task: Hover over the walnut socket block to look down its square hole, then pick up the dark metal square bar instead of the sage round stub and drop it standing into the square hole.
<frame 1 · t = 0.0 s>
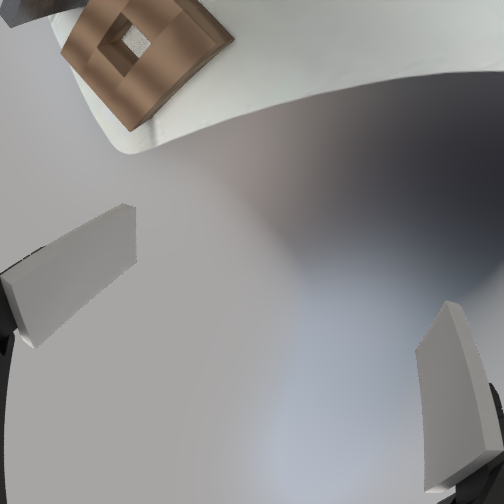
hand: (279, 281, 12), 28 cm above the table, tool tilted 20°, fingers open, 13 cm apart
socket block: (146, 37, 31), on the table
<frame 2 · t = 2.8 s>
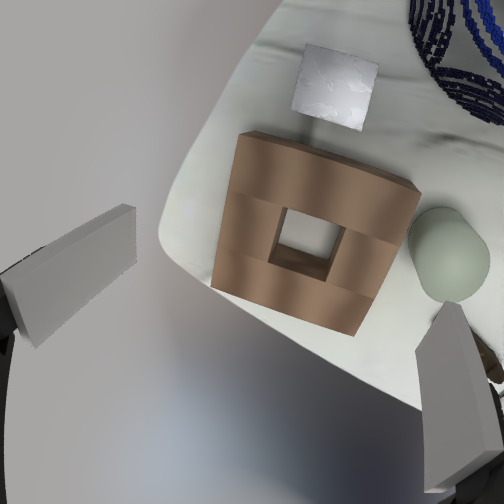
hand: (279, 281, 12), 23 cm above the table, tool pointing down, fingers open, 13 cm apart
round stub: (439, 240, 31), on the table
square bar: (339, 98, 28), on the table
hand tool: (476, 338, 34), on the table
socket block: (311, 228, 35), on the table
decorative bowl: (489, 41, 19), on the table
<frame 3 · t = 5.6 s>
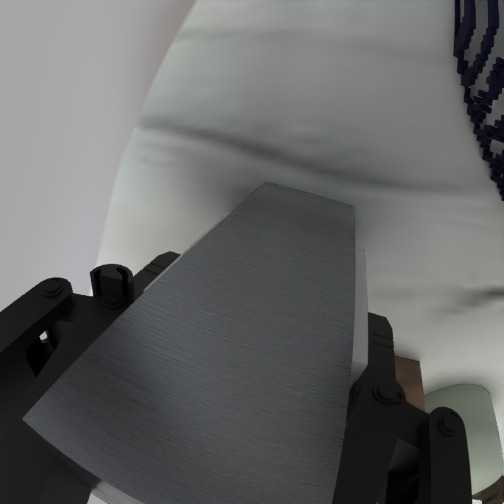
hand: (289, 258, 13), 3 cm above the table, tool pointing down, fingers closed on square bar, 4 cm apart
round stub: (446, 415, 18), on the table
square bar: (299, 234, 16), on the table, touching gripper
hand tool: (478, 470, 21), on the table
socket block: (262, 404, 23), on the table
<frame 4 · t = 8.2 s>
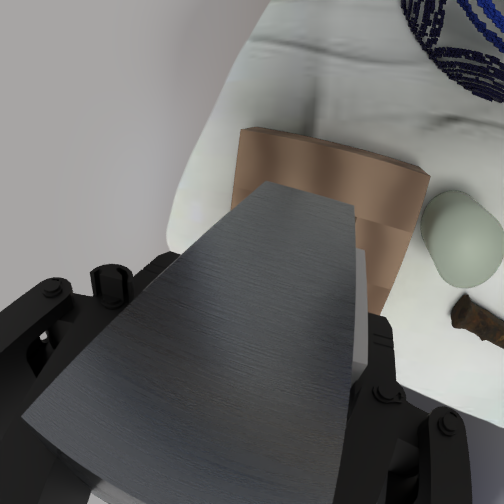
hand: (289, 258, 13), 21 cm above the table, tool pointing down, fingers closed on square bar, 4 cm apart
round stub: (452, 225, 29), on the table
square bar: (299, 233, 16), point 18 cm above the table, touching gripper
hand tool: (498, 321, 32), on the table
socket block: (321, 221, 34), on the table
decorative bowl: (483, 20, 18), on the table
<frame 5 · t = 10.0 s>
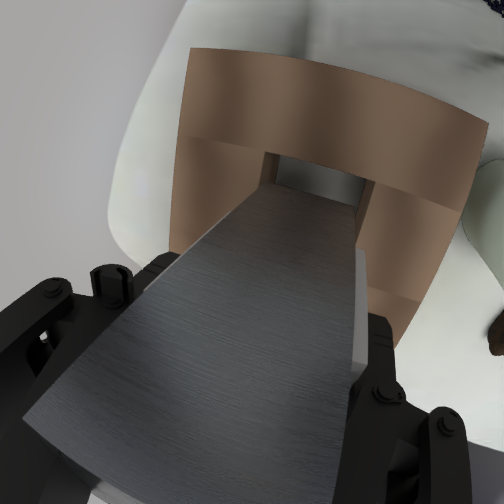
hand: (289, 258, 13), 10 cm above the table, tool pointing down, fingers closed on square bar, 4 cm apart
round stub: (502, 209, 18), on the table
square bar: (299, 234, 16), point 8 cm above the table, touching gripper
socket block: (316, 195, 22), on the table
when the fingers open (6 cm above the table, at t = 11.1 s): square bar drops 3 cm, resting in socket block.
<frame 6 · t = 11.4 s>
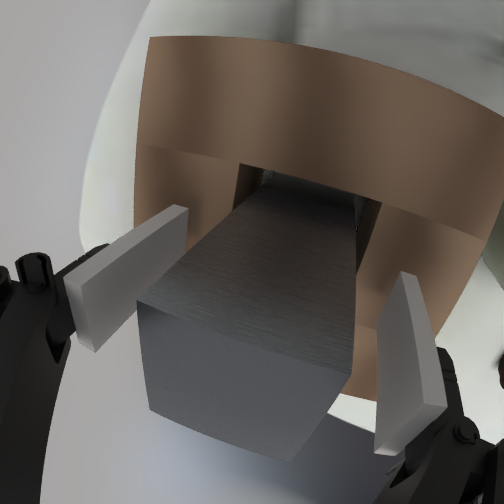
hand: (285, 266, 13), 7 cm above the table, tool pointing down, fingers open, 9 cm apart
square bar: (308, 213, 19), resting in socket block
socket block: (307, 213, 19), on the table
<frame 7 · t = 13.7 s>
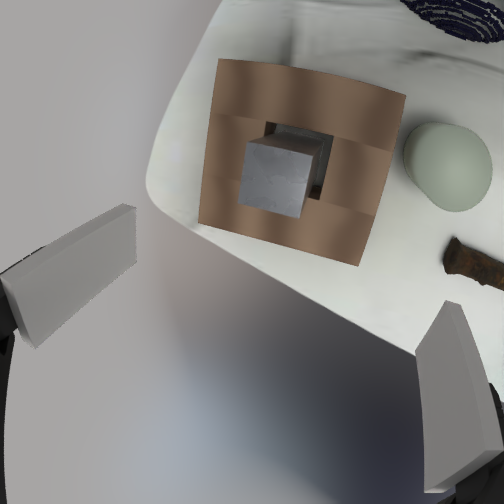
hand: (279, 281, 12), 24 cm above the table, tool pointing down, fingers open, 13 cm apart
round stub: (436, 157, 28), on the table
square bar: (300, 153, 33), resting in socket block
hand tool: (498, 265, 31), on the table
socket block: (300, 153, 32), on the table
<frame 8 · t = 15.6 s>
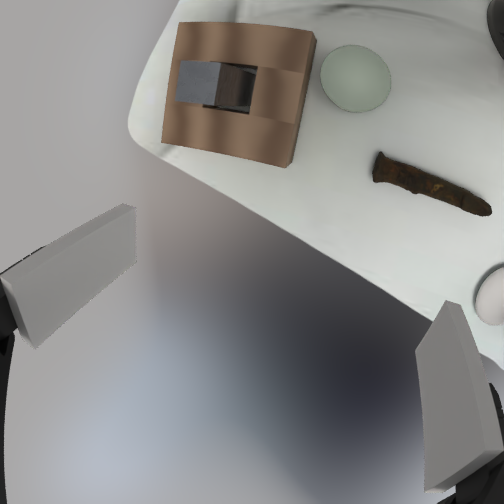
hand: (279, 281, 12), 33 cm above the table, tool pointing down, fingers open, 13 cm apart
round stub: (354, 83, 34), on the table
square bar: (242, 88, 39), resting in socket block
flower in vase: (502, 292, 39), on the table
hand tool: (434, 181, 37), on the table
socket block: (241, 89, 39), on the table
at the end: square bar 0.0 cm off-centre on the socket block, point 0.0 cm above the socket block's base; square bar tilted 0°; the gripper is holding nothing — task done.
